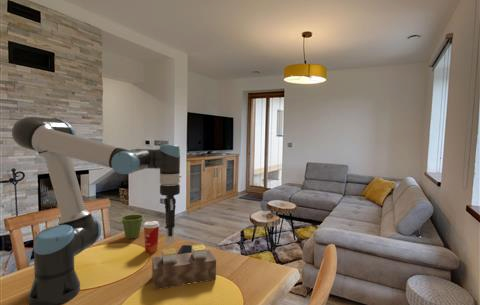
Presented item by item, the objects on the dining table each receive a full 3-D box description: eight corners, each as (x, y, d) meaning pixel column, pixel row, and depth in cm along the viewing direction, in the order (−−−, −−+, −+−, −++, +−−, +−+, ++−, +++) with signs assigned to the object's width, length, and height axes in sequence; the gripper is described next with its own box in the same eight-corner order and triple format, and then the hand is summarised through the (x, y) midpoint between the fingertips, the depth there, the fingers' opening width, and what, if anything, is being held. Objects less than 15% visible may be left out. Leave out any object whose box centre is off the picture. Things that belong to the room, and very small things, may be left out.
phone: (197, 245, 140) (191, 258, 125) (197, 247, 140) (191, 261, 125) (182, 245, 140) (174, 257, 125) (182, 247, 141) (174, 260, 126)
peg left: (162, 272, 104) (163, 254, 104) (161, 266, 109) (161, 249, 108) (176, 270, 106) (176, 252, 105) (174, 264, 110) (174, 247, 110)
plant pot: (147, 234, 156) (147, 215, 155) (134, 242, 144) (134, 221, 144) (130, 231, 159) (130, 213, 158) (116, 239, 148) (116, 219, 147)
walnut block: (153, 289, 101) (153, 269, 100) (152, 276, 110) (152, 257, 110) (215, 279, 109) (216, 260, 109) (209, 267, 119) (209, 250, 118)
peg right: (193, 267, 108) (194, 250, 108) (191, 262, 113) (191, 245, 113) (206, 265, 110) (206, 249, 110) (203, 260, 115) (203, 244, 114)
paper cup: (142, 248, 136) (142, 221, 136) (158, 246, 140) (158, 219, 139) (143, 255, 129) (144, 226, 129) (160, 252, 133) (160, 224, 132)
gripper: (182, 186, 100) (182, 248, 102) (177, 180, 113) (177, 236, 114) (161, 187, 98) (161, 251, 99) (158, 181, 110) (158, 238, 111)
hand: (169, 243), depth 107 cm, fingers closed
